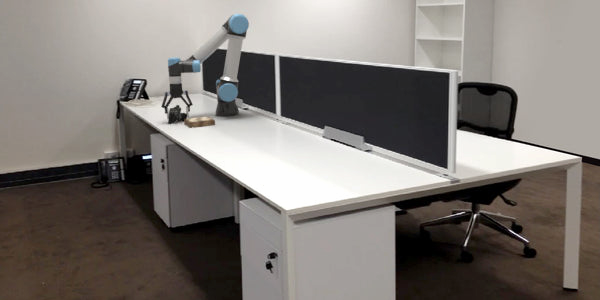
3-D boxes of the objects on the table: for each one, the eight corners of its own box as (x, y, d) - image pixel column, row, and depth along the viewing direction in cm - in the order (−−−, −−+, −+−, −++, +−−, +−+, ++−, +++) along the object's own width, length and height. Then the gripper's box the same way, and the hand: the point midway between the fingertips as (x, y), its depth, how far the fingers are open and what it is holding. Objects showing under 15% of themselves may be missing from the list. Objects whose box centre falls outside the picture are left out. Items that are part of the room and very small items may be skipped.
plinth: (208, 121, 368) (208, 116, 367) (215, 124, 355) (214, 119, 354) (184, 124, 362) (184, 118, 362) (190, 127, 349) (189, 122, 348)
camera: (181, 126, 365) (183, 110, 362) (166, 124, 365) (168, 108, 362) (187, 121, 382) (189, 106, 380) (173, 119, 382) (175, 103, 380)
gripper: (193, 81, 375) (195, 115, 380) (154, 83, 366) (157, 118, 371) (196, 82, 368) (198, 117, 373) (157, 84, 359) (159, 120, 364)
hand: (177, 117), depth 372 cm, fingers closed on camera, 12 cm apart
